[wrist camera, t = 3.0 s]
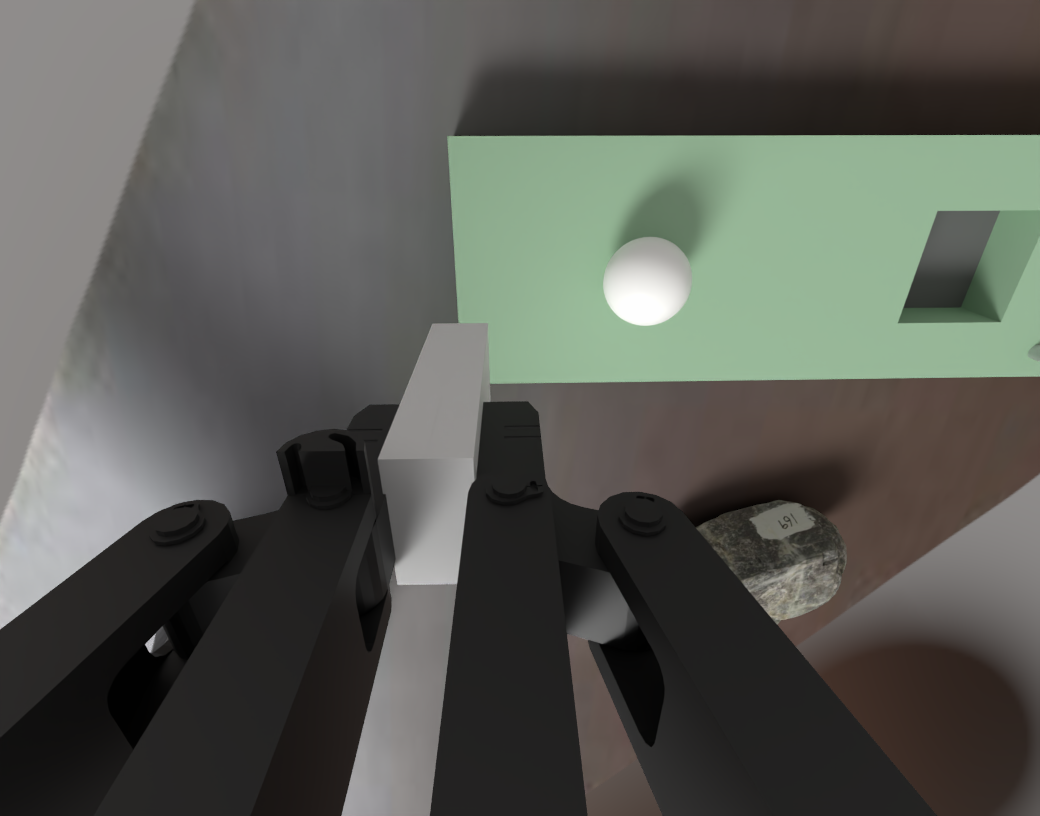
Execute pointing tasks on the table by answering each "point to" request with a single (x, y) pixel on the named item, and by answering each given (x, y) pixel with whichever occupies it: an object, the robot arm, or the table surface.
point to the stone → (780, 555)
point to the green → (754, 255)
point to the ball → (647, 281)
